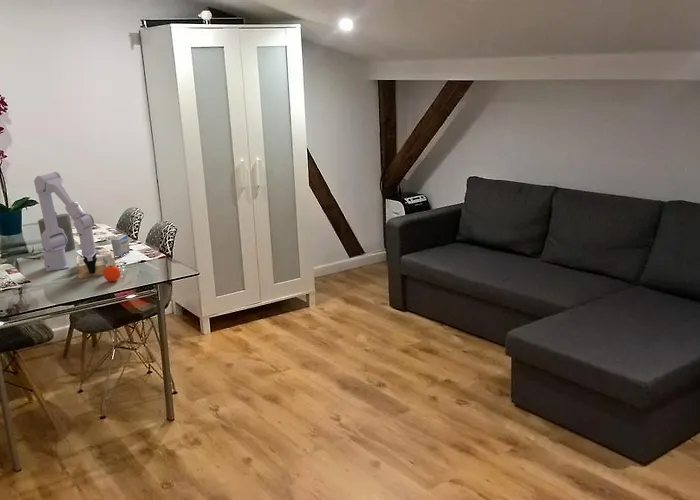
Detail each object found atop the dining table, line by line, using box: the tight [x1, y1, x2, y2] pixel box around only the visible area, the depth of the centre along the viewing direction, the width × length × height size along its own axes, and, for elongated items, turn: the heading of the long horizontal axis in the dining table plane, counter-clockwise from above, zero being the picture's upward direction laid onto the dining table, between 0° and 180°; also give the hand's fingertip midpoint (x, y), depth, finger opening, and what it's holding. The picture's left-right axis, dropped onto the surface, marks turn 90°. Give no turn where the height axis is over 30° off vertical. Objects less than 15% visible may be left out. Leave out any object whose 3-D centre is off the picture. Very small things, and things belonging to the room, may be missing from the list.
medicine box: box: [111, 234, 131, 257], centre depth 332 cm, size 8×4×9 cm, turn 168°
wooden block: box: [76, 262, 106, 279], centre depth 307 cm, size 12×4×4 cm, turn 111°
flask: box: [37, 211, 76, 252], centre depth 339 cm, size 15×6×20 cm, turn 135°
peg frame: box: [75, 250, 116, 267], centre depth 318 cm, size 16×11×4 cm
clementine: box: [102, 265, 121, 282], centre depth 299 cm, size 8×7×7 cm
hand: (92, 271), depth 308 cm, fingers closed on wooden block, 4 cm apart
